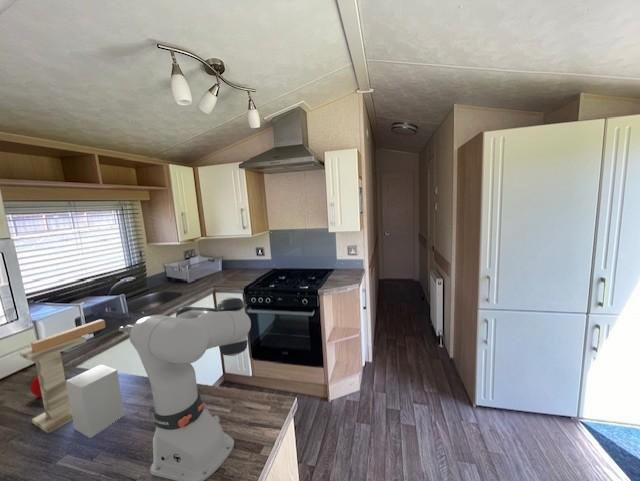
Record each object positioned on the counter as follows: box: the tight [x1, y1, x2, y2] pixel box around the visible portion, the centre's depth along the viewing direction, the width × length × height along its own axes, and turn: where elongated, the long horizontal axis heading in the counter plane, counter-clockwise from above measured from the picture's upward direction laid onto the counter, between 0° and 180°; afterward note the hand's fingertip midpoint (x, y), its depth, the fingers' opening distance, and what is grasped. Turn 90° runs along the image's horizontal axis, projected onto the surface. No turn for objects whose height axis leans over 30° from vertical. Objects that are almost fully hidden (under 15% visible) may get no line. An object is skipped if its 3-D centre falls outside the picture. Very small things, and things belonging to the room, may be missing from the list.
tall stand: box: [19, 336, 87, 434], centre depth 96 cm, size 12×14×26 cm
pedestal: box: [65, 364, 125, 439], centre depth 91 cm, size 10×10×17 cm
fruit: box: [29, 375, 42, 398], centre depth 110 cm, size 9×9×10 cm
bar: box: [30, 318, 106, 352], centre depth 99 cm, size 3×20×3 cm, turn 154°
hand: (126, 330), depth 116 cm, fingers open, 8 cm apart
